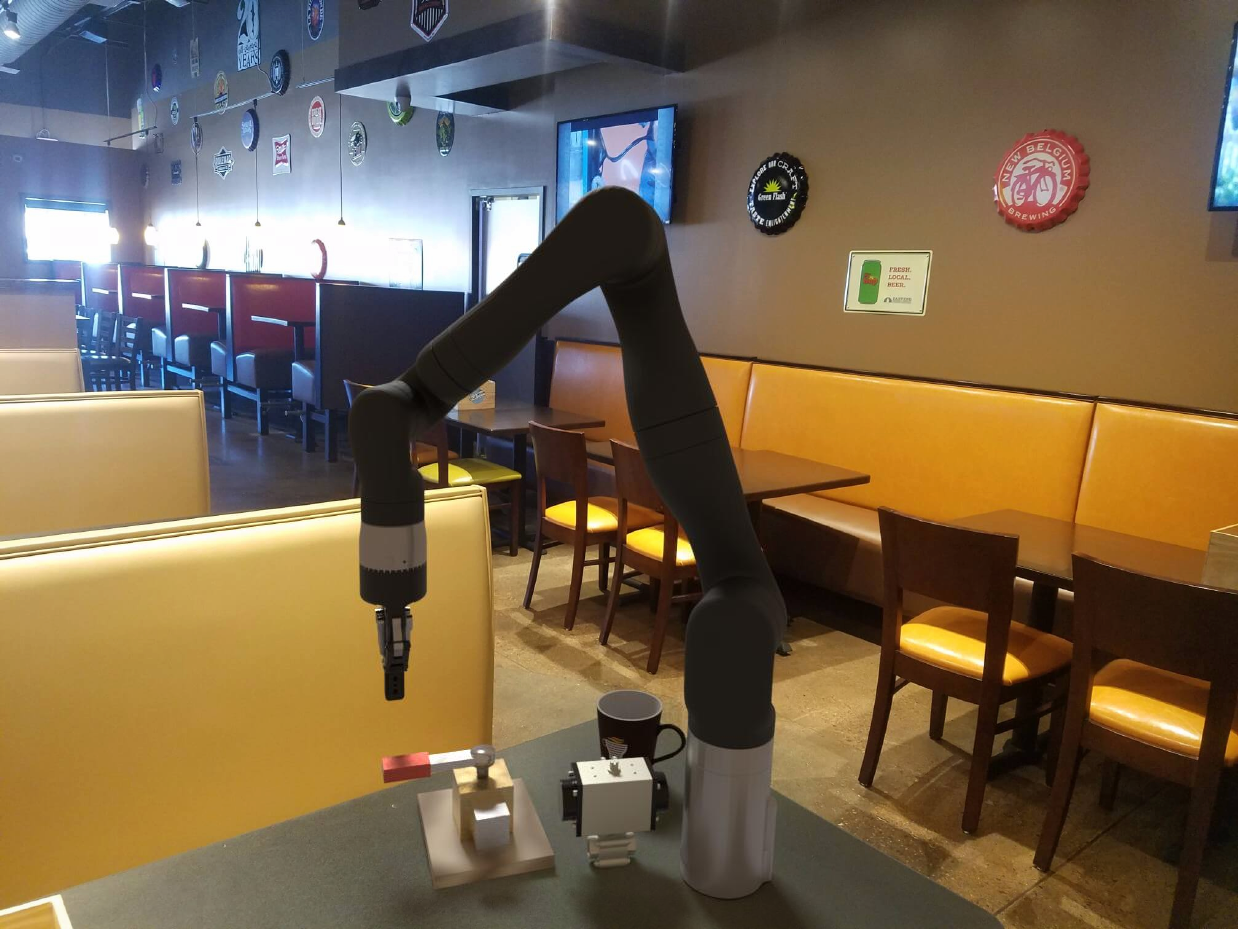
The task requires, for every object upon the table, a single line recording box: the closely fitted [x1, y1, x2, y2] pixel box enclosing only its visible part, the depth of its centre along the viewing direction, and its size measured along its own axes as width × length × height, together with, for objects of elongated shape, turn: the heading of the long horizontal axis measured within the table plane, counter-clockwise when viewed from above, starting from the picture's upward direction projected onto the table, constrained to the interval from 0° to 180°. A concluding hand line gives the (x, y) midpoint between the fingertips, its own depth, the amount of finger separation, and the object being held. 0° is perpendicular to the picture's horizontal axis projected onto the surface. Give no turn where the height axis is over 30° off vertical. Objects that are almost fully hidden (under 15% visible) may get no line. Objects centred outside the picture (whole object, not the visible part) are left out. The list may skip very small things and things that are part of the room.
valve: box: [451, 758, 514, 858], centre depth 100 cm, size 6×13×7 cm, turn 19°
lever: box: [381, 744, 496, 784], centre depth 97 cm, size 12×3×2 cm, turn 109°
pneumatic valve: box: [557, 756, 670, 869], centre depth 97 cm, size 6×12×12 cm, turn 101°
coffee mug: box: [596, 689, 687, 768], centre depth 112 cm, size 12×9×10 cm
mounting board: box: [416, 777, 555, 890], centre depth 101 cm, size 13×16×2 cm
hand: (394, 697), depth 103 cm, fingers closed
